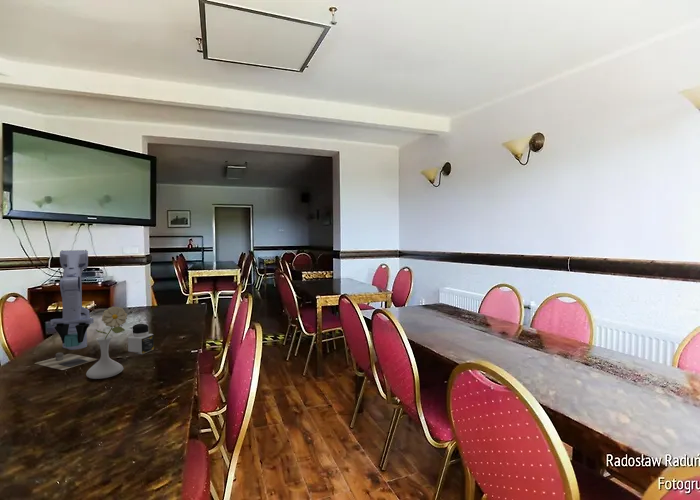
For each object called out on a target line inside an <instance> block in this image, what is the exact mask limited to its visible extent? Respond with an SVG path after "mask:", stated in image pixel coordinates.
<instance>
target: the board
mask: <svg viewBox="0 0 700 500" xmlns="http://www.w3.org/2000/svg"><path fill="white" fill-rule="evenodd" d="M97 360H98V361H99V358H94V357H89V356H83V355H79V354H73V353H67V354H64V352H57V353H55V357H54V358H53V357H52V358H49V359H46V360H42V361H37V362H35V363H34V364H36V365H39V366H44V367H48V368H51V369H56V370H61V371H63V370H64V371H65V370H68V369H70V368H71V369H72V368H74V367H77V366H81V365H84V364H87V363H90V362H94V361H97Z"/></svg>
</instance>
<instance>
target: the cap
mask: <svg viewBox="0 0 700 500" xmlns="http://www.w3.org/2000/svg"><path fill="white" fill-rule="evenodd" d="M80 344H81V343H78V335H77V333H72V334H67V335H65V338H64V346H65V347H73V346H78V345H80Z"/></svg>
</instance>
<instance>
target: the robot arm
mask: <svg viewBox="0 0 700 500" xmlns="http://www.w3.org/2000/svg"><path fill="white" fill-rule="evenodd" d="M88 254H89V251H88V250H87V249H84V250H83V249H80V250H79V249H77V250H60V251H59V263H60V267H61V268H62V270H63V271H62V272H63V273H62V278H60V280H59V288H60V289H59V290H60V295H61V303H62V304H61V305H62V307H61V308H62V318H53V319H50V322H49V323H50V326H54V325H55V326H54V330H56V332H57V333H58V335H59V338H60V340H61V342H62V348H63V349H66V350H73V351H74V350H81V349H85V348H86V347H88V332H87V331H88V328H89V327H90V326H91V325H92V324H94V322H95V321H94V317H91V315H90V310H89V308H87V307H85V306H83V297H82V295H83V291H82V289H83V288H82V273H83V271H84V270H86V269H88V266H89V255H88ZM72 333H77V335H78V343H81V344H80V345H78V346H73V347H65V346H64V338H65V335H67V334H72Z"/></svg>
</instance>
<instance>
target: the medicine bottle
mask: <svg viewBox="0 0 700 500" xmlns="http://www.w3.org/2000/svg"><path fill="white" fill-rule="evenodd" d="M154 345H155V341H154V334H153V333H149V324H147V323H137V324H134V325H133V326H132V335H131V336H130V335H129V336H128V337H127V349H128V350H127V352H131V353H133V354H134V355H145V354H146V353H149V352H151V351H154V350H155V346H154Z"/></svg>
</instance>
